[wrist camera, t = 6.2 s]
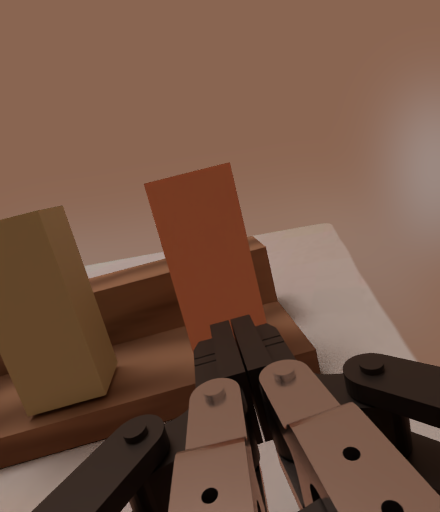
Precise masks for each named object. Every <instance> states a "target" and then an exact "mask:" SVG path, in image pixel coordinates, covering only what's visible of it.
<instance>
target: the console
mask: <svg viewBox="0 0 440 512" xmlns="http://www.w3.org/2000/svg"><path fill="white" fill-rule="evenodd" d="M247 239H248V244H249V248H250V252H251V257H252V261H253V265H254V270H255V274H256V278H257V283H258V287H259V292H260V296H261V300H262V305H263V309H264V313H265V318H266V322H267V323H268V324H270V325H272V326H274V327H276V328H277V330H278V331H279V333H280V335H281V336H282V338H283V339H284V342H285V343H286V344H287V346H288V347H289V349H290V351H291V352H292V354H293V355H294V357H295V358H296V360H297V361H301V362H303V363H305V364H306V365H307V366H308V367H309V368H310V369H311V370H312V372H313V373H316V374H321V373H320V368H319V363H318V358H317V353H316V349H315V348H314V347H313V345H312V344H311V343H310V341H309V340H308V339H307V338H306V336H305V335H304V334H303V333H302V331H301V330H300V329H299V327H298V326H297V325H296V324H295V322H294V321H293V320H292V319H291V317H290V316H289V315H288V313H287V312H286V311H285V310H284V308H283V307H282V306H281V305H280V303H279V302H278V301H277V296H276V292H275V287H274V282H273V278H272V273H271V269H270V264H269V259H268V255H267V250H266V247H265V246H264V245H263V244H262V243H260V242H259V241H258V240H257V239H255V238H254V237H253V236H250V237H247ZM89 282H90V285H91V288H92V290H93V293H94V296H95V299H96V302H97V305H98V307H99V310H100V313H101V316H102V319H103V322H104V324H105V327H106V330H107V333H108V336H109V339H110V342H111V344H112V347H113V350H114V353H115V356H116V359H117V361H118V363H117V366H116V369H115V372H114V374H113V377H112V380H111V383H110V385H109V388H108V391H107V394H106V395H104V396H100V397H97V398H93V399H89V400H86V401H82V402H79V403H75V404H72V405H68V406H64V407H61V408H57V409H54V410H50V411H47V412H43V413H39V414H36V415H32V416H29V417H28V416H27V414H26V411H25V409H24V407H23V405H22V402H21V400H20V398H19V396H18V393H17V391H16V389H15V386H14V384H13V382H12V380H11V377H10V375H9V373H8V371H7V368H6V366H5V364H4V361H3V359H2V357H1V355H0V469H1V468H4V467H8V466H11V465H15V464H18V463H22V462H25V461H29V460H32V459H36V458H39V457H43V456H46V455H50V454H53V453H57V452H60V451H64V450H67V449H71V448H74V447H78V446H81V445H85V444H88V443H92V442H95V441H99V440H102V439H106V438H108V437H109V436H110V435H111V434H113V433H114V432H115V431H116V430H117V429H118V428H119V427H120V426H121V425H122V424H124V423H125V422H127V421H129V420H130V419H133V418H135V417H138V416H141V415H147V414H152V415H156V416H159V417H160V418H161V419H162V420H163V422H165V421H169V420H172V419H175V418H177V417H179V416H180V415H182V414H183V413H184V412H186V411H187V410H188V409H189V400H190V396H191V394H192V392H193V391H194V390H195V389H196V385H195V368H194V367H195V366H194V354H193V351H192V347H191V344H190V340H189V337H188V334H187V330H186V327H185V323H184V320H183V316H182V313H181V310H180V306H179V303H178V299H177V296H176V292H175V289H174V286H173V282H172V279H171V275H170V272H169V268H168V265H167V262H166V259H162V260H158V261H155V262H151V263H147V264H143V265H139V266H136V267H132V268H128V269H124V270H120V271H117V272H113V273H109V274H105V275H101V276H98V277H94V278H90V279H89Z"/></svg>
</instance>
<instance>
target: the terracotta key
mask: <svg viewBox="0 0 440 512" xmlns="http://www.w3.org/2000/svg"><path fill="white" fill-rule="evenodd" d="M144 186H145V190H146V193H147V196H148V200H149V203H150V206H151V210H152V213H153V217H154V220H155V224H156V227H157V230H158V234H159V238H160V241H161V244H162V248H163V251H164V255H165V258H166V262H167V265H168V268H169V272H170V275H171V279H172V282H173V286H174V289H175V292H176V296H177V299H178V303H179V306H180V310H181V313H182V316H183V320H184V323H185V327H186V330H187V334H188V337H189V340H190V344H191V347H192V351H193V350H194V349H195V347H196V345H197V344H198V342H200V341H204V340H207V339H211V338H212V336H211V330H210V325H212V324H215V323H219V322H223V321H226V320H229V323H230V326H231V329H232V325H231V321H230V319H233V318H237V317H241V316H244V315H248V314H249V315H250V317H251V319H252V321H253V323H254V325H255V326H258V325H262V324H265V323H267V322H266V318H265V313H264V309H263V305H262V300H261V296H260V292H259V287H258V283H257V278H256V274H255V270H254V265H253V261H252V257H251V252H250V248H249V244H248V239H247V235H246V231H245V226H244V222H243V218H242V213H241V209H240V205H239V200H238V196H237V192H236V187H235V183H234V178H233V175H232V171H231V165H230V163H225V164H221V165H217V166H213V167H209V168H205V169H201V170H197V171H193V172H189V173H185V174H181V175H177V176H173V177H169V178H165V179H161V180H157V181H153V182H149V183H145V184H144ZM232 332H233V329H232ZM233 335H234V333H233ZM234 338H235V337H234ZM193 354H194V351H193Z"/></svg>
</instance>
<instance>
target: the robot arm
mask: <svg viewBox="0 0 440 512" xmlns="http://www.w3.org/2000/svg"><path fill="white" fill-rule="evenodd" d="M230 321H231V325H232V329H233V332H232V329H231V326H230V323H229V320H226V321H223V322H219V323H215V324H212V325H210V330H211V336H212V338H211V339H207V340H204V341H200V342H198V344H197V345H196V347H195V349H194V350H193V351H194V366H195V367H194V368H195V385H196V389H195V390H194V391H193V392H192V394H191V396H190V400H189V409H188V410H187V411H186V412H184V413H183V414H182V415H180V416H179V417H177V418H175V419H173V420H171V421H170V422H168V423H166V424H164V423H163V420H162V419H161V418H160V417H159V416H156V415H152V414H147V415H141V416H138V417H135V418H133V419H130V420H129V421H127V422H125V423H124V424H122V425H121V426H120V427H119V428H118V429H117V430H116V431H115V432H114V433H113V434H111V435H110V436H109V437H108V438H107V439H106V440H105V441H104V442H103V443H102V444H101V445H100V446H99V447H98V448H97V449H96V450H95V451H94V452H93V453H92V454H91V455H90V456H89V457H88V458H87V459H86V460H85V461H84V462H82V463H81V464H80V465H79V466H78V467H77V468H76V469H75V470H74V471H73V472H72V473H71V474H70V475H69V476H68V477H67V478H66V479H65V480H64V481H63V482H62V483H61V484H60V485H59V486H58V487H57V488H56V489H55V490H53V491H52V492H51V493H50V494H49V495H48V496H47V497H46V498H45V499H44V500H43V501H42V502H41V503H40V504H39V505H38V506H37V507H36V508H35V509H34V510H33V511H32V512H121V511H122V509H123V508H124V507H125V506H126V504H127V503H128V502H130V505H131V508H132V510H133V511H132V512H269V510H268V505H267V499H266V493H265V488H264V482H263V476H262V471H261V467H260V463H259V461H260V453H259V449H258V445H257V444H260V443H263V439H262V435H261V432H260V428H259V424H258V420H257V416H258V419H259V423H260V426H261V429H262V432H263V435H264V439H265V442H267V441H270V440H273V441H274V444H275V447H276V450H277V455H278V459H279V463H280V466H281V468H282V470H283V472H284V475H285V477H286V479H287V481H288V484H289V486H290V488H291V491H292V493H293V495H294V497H295V500H296V502H297V504H298V506H299V509H300V511H298V512H440V442H439V441H436V440H433V439H430V438H428V437H425V436H422V435H419V434H416V433H414V432H411V429H410V421H409V418H410V419H413V420H416V421H419V422H422V423H425V424H428V425H431V426H434V427H437V428H440V367H438V366H433V365H429V364H424V363H420V362H415V361H411V360H406V359H401V358H397V357H392V356H388V355H383V354H377V353H366V354H360V355H357V356H354V357H352V358H350V359H348V360H347V361H346V362H345V364H344V366H343V374H316V373H313V372H312V370H311V369H310V368H309V367H308V366H307V365H306V364H305V363H303V362H301V361H297V360H296V358H295V357H294V355H293V354H292V352H291V351H290V349H289V347H288V346H287V344H286V343H285V342H284V339H283V338H282V336H281V335H280V333H279V331H278V330H277V328H276V327H274V326H272V325H270V324H268V323H265V324H262V325H258V326H255V325H254V323H253V321H252V319H251V317H250V315H249V314H248V315H244V316H241V317H237V318H233V319H230ZM233 333H234V335H233ZM234 337H235V338H234ZM254 407H255V408H254ZM255 410H256V412H255ZM256 413H257V416H256Z"/></svg>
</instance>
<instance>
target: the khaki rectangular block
mask: <svg viewBox="0 0 440 512" xmlns="http://www.w3.org/2000/svg"><path fill="white" fill-rule="evenodd" d="M0 355H1V357H2V359H3V361H4V364H5V366H6V368H7V371H8V373H9V375H10V377H11V380H12V382H13V384H14V386H15V389H16V391H17V393H18V396H19V398H20V400H21V402H22V405H23V407H24V409H25V411H26V414H27V416H28V417H29V416H32V415H36V414H39V413H43V412H47V411H50V410H54V409H57V408H61V407H64V406H68V405H72V404H75V403H79V402H82V401H86V400H89V399H93V398H97V397H100V396H104V395H106V394H107V391H108V388H109V385H110V383H111V380H112V377H113V374H114V372H115V369H116V366H117V363H118V361H117V359H116V356H115V353H114V350H113V347H112V344H111V342H110V339H109V336H108V333H107V330H106V327H105V324H104V322H103V319H102V316H101V313H100V310H99V307H98V305H97V302H96V299H95V296H94V293H93V290H92V288H91V285H90V282H89V279H88V276H87V273H86V271H85V268H84V265H83V262H82V259H81V256H80V253H79V251H78V248H77V245H76V242H75V239H74V236H73V234H72V231H71V228H70V225H69V222H68V219H67V217H66V214H65V211H64V208H63V206H58V207H53V208H48V209H43V210H38V211H34V212H30V213H26V214H22V215H18V216H14V217H10V218H6V219H2V220H0Z"/></svg>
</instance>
